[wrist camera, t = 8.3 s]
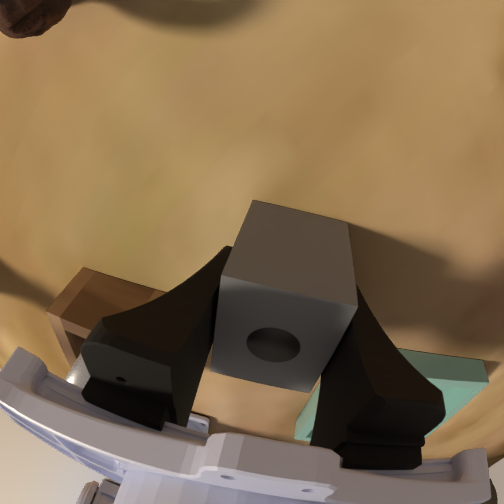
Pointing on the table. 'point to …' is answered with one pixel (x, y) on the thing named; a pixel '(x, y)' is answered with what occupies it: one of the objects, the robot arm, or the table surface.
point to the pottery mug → (30, 16)
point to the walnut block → (92, 306)
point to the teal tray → (433, 369)
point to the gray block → (284, 297)
